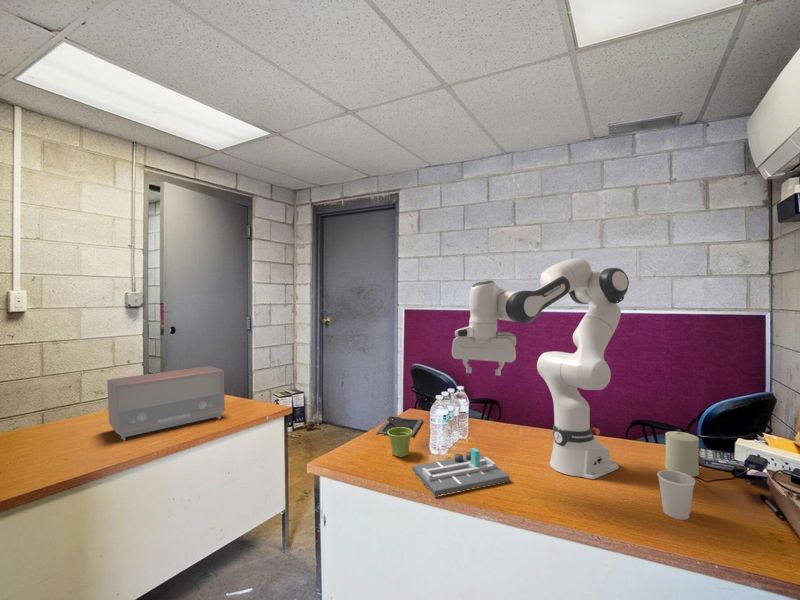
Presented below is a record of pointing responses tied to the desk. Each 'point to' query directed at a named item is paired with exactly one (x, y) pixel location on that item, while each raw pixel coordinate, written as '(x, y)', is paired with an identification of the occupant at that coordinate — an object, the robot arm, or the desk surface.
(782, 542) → the desk surface
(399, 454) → the plant pot
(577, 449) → the robot arm
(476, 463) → the fader
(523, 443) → the desk surface
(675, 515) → the dixie cup
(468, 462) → the console
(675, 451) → the can
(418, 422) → the picture frame
